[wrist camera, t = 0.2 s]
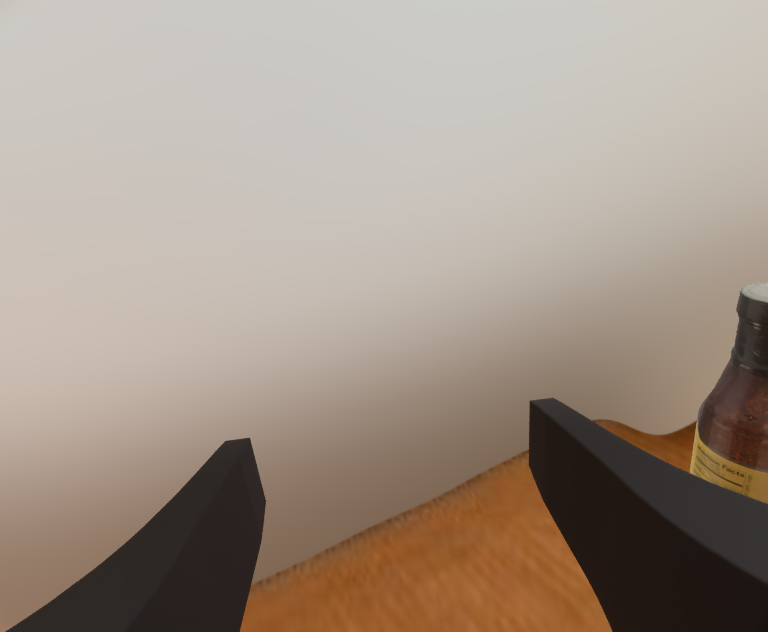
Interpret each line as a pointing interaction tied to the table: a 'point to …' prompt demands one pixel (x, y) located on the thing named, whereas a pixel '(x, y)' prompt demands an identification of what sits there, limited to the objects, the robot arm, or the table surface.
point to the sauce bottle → (739, 408)
